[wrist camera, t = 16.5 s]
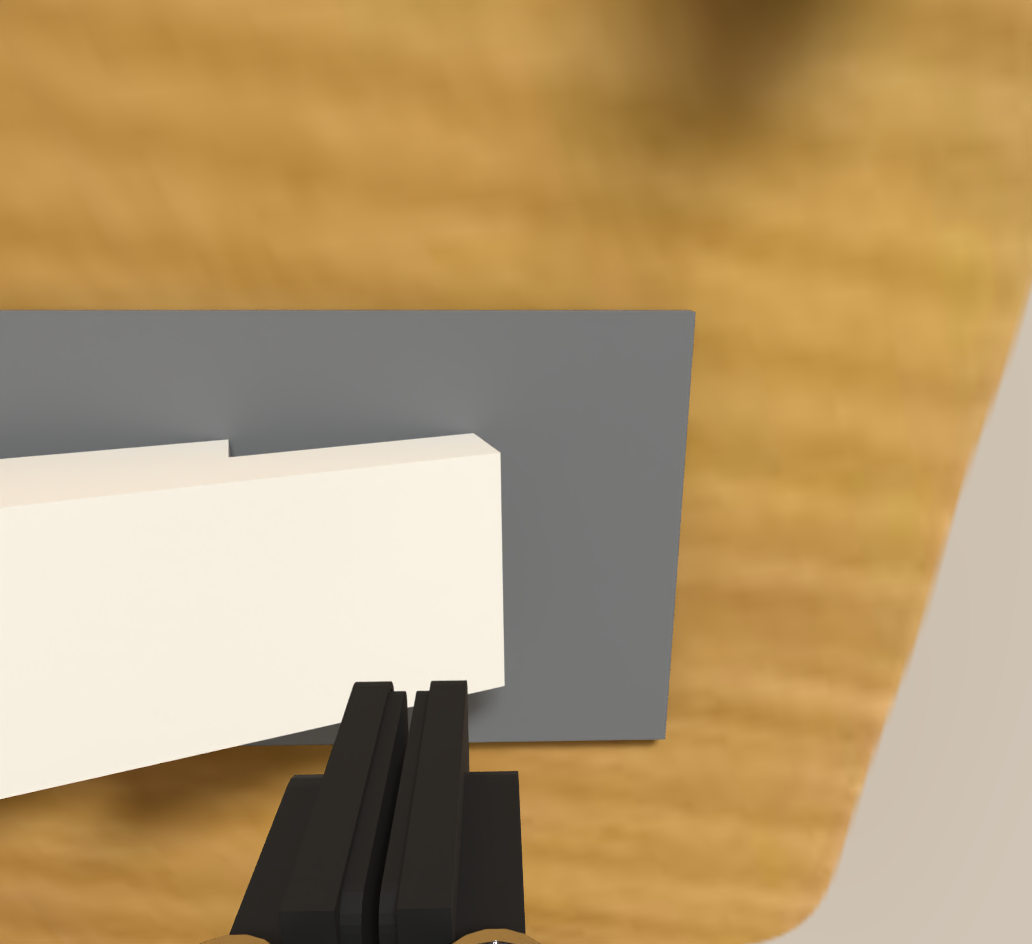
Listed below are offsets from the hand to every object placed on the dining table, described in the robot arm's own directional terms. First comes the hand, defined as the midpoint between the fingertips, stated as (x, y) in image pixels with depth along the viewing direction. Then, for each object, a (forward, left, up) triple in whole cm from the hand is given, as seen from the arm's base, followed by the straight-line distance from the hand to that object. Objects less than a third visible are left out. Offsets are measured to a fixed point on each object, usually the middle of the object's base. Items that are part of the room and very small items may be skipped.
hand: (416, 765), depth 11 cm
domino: (+1, 0, -8) cm, 8 cm away
